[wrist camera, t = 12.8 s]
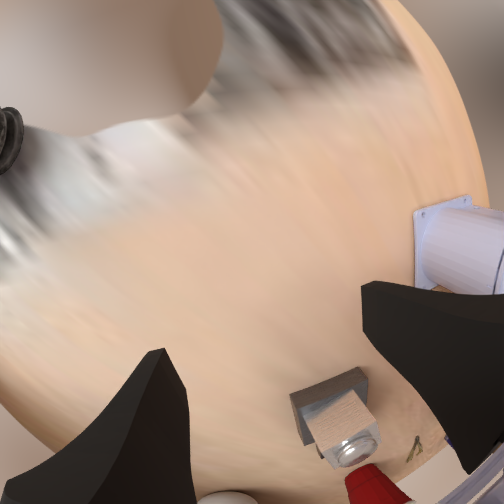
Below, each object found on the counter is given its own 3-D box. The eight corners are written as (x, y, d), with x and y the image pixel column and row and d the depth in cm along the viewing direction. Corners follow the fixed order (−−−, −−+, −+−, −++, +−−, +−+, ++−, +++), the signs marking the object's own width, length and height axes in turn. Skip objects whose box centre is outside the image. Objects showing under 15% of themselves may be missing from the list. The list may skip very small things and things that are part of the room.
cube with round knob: (352, 388, 21) (382, 428, 16) (360, 412, 22) (386, 448, 17) (302, 416, 21) (325, 461, 15) (317, 437, 22) (338, 476, 17)
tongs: (420, 429, 33) (425, 436, 32) (419, 447, 38) (423, 453, 36) (401, 443, 33) (407, 450, 31) (403, 459, 38) (408, 464, 36)
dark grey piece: (357, 366, 23) (385, 398, 18) (355, 434, 27) (372, 460, 22) (289, 394, 22) (308, 434, 17) (303, 455, 26) (317, 485, 21)
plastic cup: (325, 478, 30) (353, 533, 18) (386, 446, 31) (421, 495, 19) (332, 493, 33) (355, 538, 22) (383, 467, 34) (411, 508, 23)
